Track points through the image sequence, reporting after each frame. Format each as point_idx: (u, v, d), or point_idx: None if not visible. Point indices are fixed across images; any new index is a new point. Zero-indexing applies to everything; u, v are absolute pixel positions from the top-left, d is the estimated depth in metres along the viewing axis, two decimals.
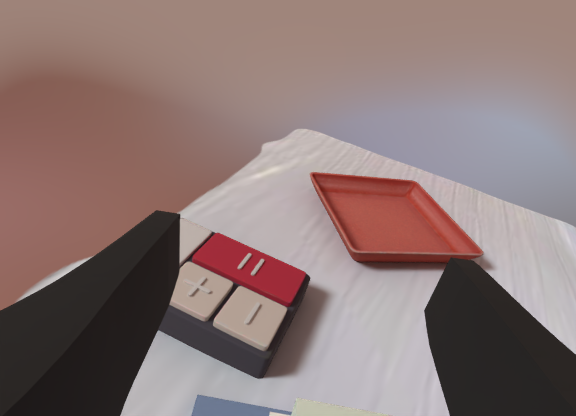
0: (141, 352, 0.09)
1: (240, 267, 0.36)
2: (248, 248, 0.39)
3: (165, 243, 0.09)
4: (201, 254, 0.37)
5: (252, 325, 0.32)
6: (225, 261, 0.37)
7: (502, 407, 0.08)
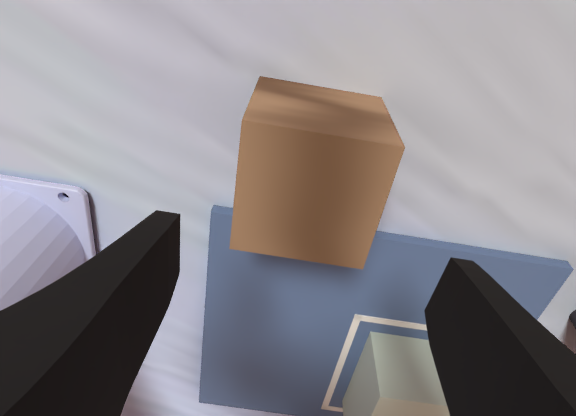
0: (141, 352, 0.09)
1: None
2: None
3: (165, 243, 0.09)
4: None
5: None
6: None
7: (502, 407, 0.08)
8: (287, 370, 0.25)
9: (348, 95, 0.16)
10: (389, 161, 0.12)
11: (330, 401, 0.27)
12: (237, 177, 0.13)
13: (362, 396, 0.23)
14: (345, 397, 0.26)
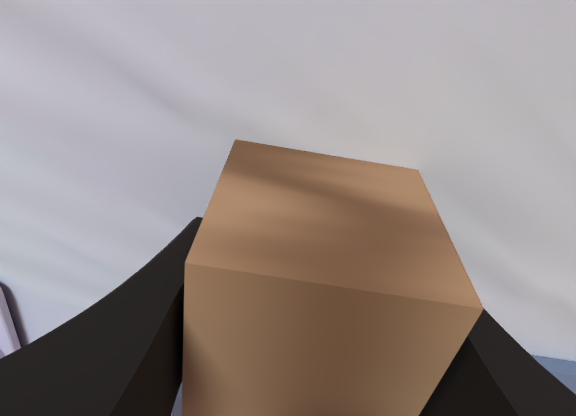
0: None
1: None
2: None
3: None
4: None
5: None
6: None
7: (450, 400, 0.08)
8: None
9: (369, 172, 0.10)
10: (452, 327, 0.07)
11: None
12: (185, 341, 0.08)
13: None
14: None
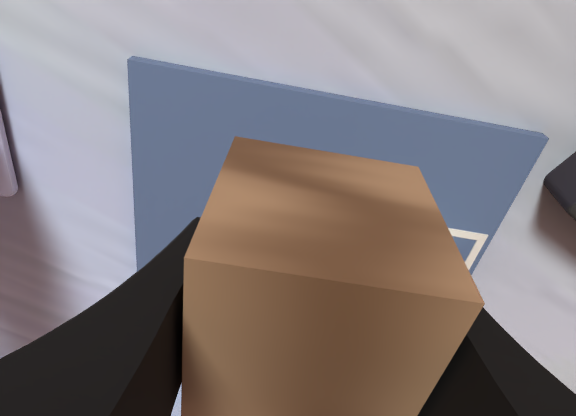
0: None
1: None
2: None
3: None
4: None
5: None
6: None
7: (450, 399, 0.08)
8: None
9: (370, 168, 0.10)
10: (453, 322, 0.07)
11: None
12: (184, 337, 0.08)
13: None
14: None
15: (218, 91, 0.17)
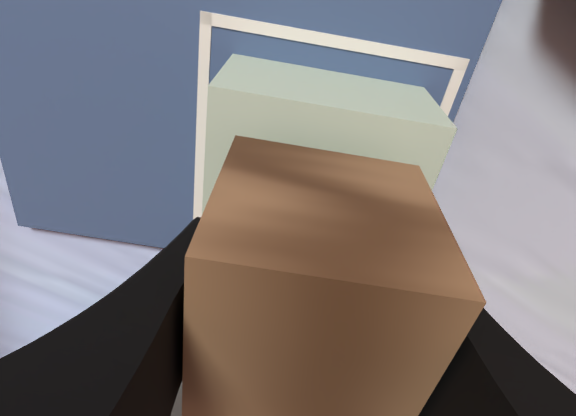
0: None
1: None
2: None
3: None
4: None
5: None
6: None
7: (449, 399, 0.08)
8: (126, 151, 0.17)
9: (370, 167, 0.10)
10: (454, 321, 0.07)
11: None
12: (185, 336, 0.08)
13: None
14: None
15: None
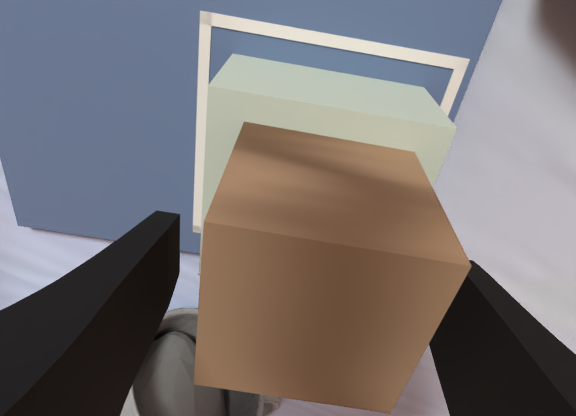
0: (141, 352, 0.09)
1: None
2: None
3: (165, 243, 0.09)
4: None
5: None
6: None
7: (502, 407, 0.08)
8: (126, 151, 0.17)
9: (369, 152, 0.11)
10: (443, 284, 0.08)
11: None
12: (200, 298, 0.08)
13: None
14: None
15: None
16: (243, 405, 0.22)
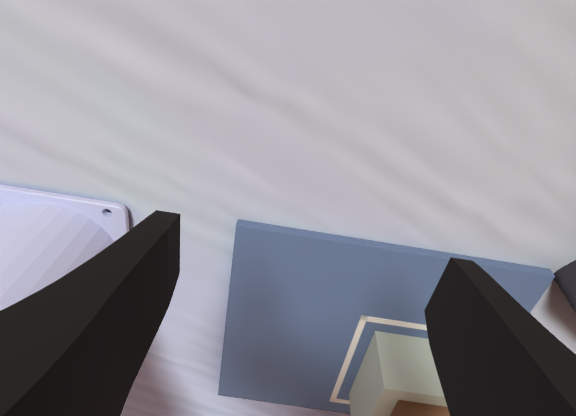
0: (141, 352, 0.09)
1: None
2: None
3: (165, 243, 0.09)
4: None
5: None
6: None
7: (502, 407, 0.08)
8: (299, 365, 0.28)
9: None
10: None
11: (338, 394, 0.29)
12: None
13: (367, 388, 0.25)
14: (352, 390, 0.29)
15: (302, 245, 0.22)
16: None
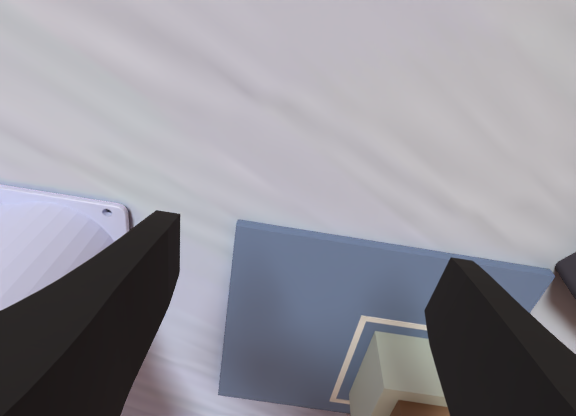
0: (141, 352, 0.09)
1: None
2: None
3: (165, 243, 0.09)
4: None
5: None
6: None
7: (502, 407, 0.08)
8: (299, 365, 0.28)
9: None
10: None
11: (338, 394, 0.29)
12: None
13: (367, 388, 0.25)
14: (351, 390, 0.29)
15: (302, 245, 0.22)
16: None
